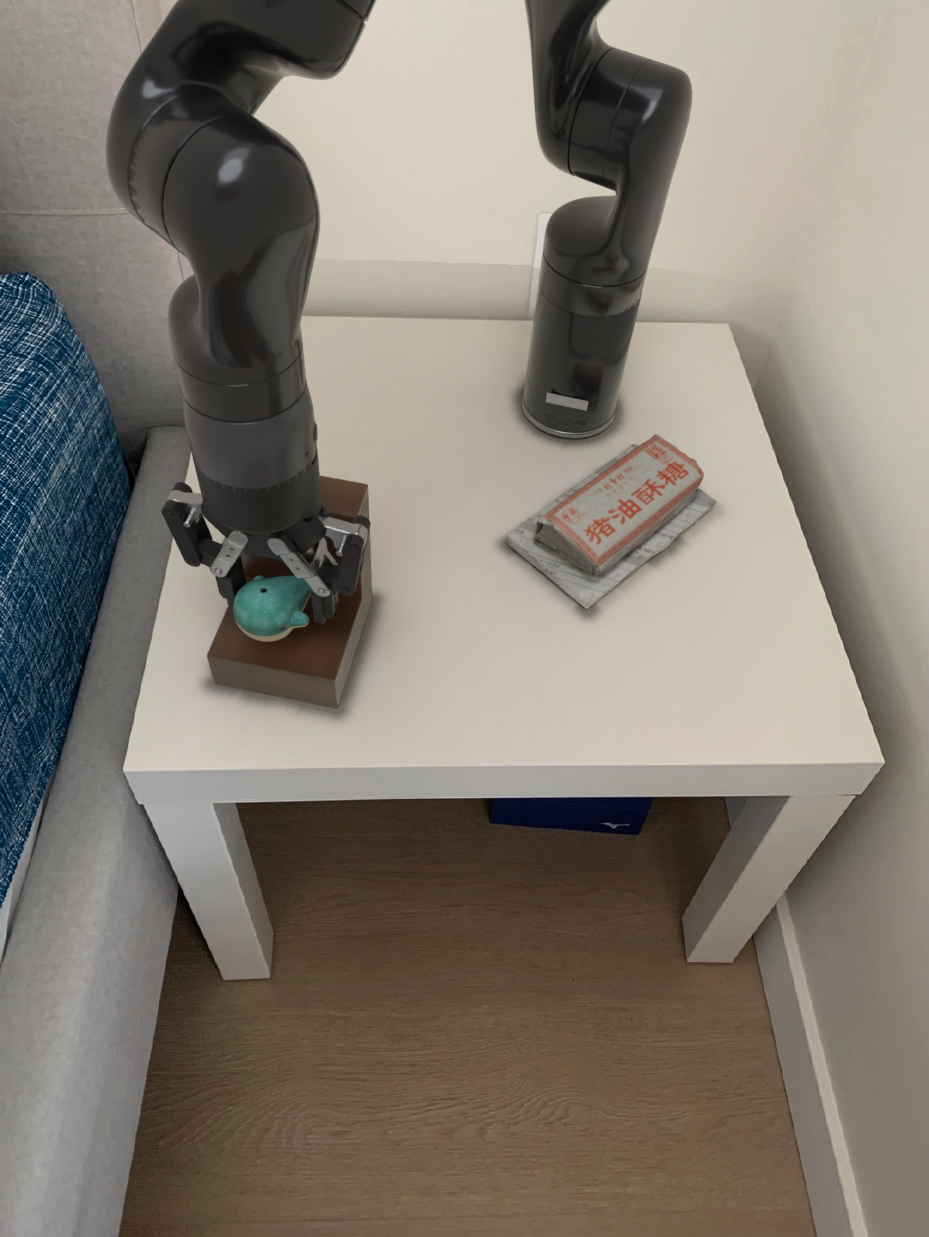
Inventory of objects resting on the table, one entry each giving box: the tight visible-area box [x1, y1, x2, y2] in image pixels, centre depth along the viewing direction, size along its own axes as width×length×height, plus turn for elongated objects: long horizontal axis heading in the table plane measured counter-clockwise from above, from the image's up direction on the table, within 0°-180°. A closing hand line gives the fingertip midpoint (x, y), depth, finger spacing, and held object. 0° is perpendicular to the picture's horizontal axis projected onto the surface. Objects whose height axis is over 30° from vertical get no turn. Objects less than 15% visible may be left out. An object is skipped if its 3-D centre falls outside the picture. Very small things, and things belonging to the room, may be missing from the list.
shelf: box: [206, 475, 373, 709], centre depth 74 cm, size 11×10×14 cm
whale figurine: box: [233, 575, 312, 642], centre depth 72 cm, size 6×7×4 cm
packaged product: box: [506, 433, 718, 610], centre depth 87 cm, size 18×5×10 cm
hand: (280, 605), depth 73 cm, fingers closed on whale figurine, 6 cm apart
